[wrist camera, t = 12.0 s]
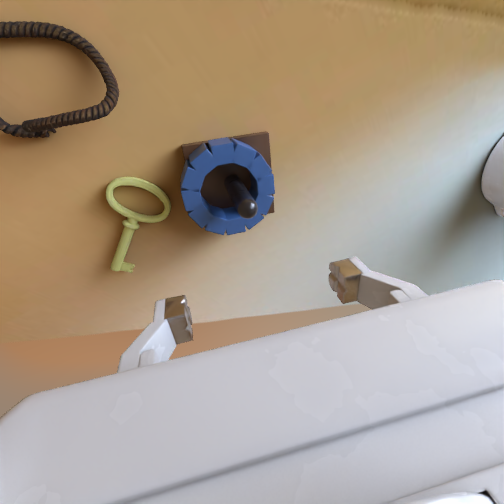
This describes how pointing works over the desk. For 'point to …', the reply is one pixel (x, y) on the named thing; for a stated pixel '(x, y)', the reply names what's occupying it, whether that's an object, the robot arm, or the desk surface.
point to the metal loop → (75, 117)
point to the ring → (208, 160)
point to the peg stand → (233, 178)
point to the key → (132, 217)
